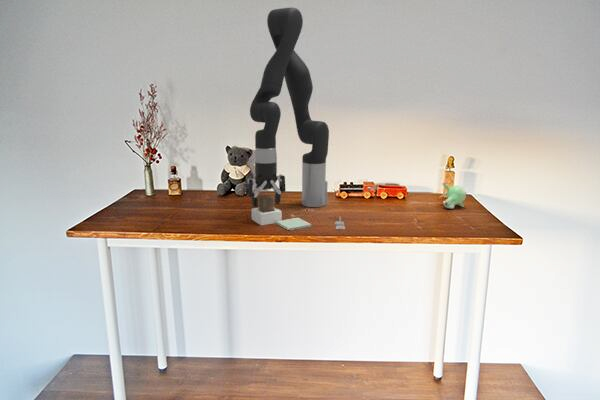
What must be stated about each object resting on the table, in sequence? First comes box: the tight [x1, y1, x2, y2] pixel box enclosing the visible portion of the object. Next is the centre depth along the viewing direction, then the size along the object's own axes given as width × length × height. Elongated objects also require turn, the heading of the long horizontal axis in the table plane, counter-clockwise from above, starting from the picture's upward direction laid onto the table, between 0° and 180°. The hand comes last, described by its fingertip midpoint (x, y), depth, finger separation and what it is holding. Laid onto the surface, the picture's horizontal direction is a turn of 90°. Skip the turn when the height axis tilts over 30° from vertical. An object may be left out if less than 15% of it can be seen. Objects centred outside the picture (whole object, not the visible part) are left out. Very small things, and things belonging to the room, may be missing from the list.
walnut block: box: [258, 194, 275, 213], centre depth 169 cm, size 4×4×9 cm
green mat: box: [275, 217, 312, 231], centre depth 165 cm, size 9×9×1 cm
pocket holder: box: [250, 206, 283, 226], centre depth 169 cm, size 8×8×4 cm
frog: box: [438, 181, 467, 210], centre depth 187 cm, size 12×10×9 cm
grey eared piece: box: [334, 215, 346, 230], centre depth 167 cm, size 15×7×4 cm, turn 179°
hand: (266, 205), depth 168 cm, fingers open, 8 cm apart
